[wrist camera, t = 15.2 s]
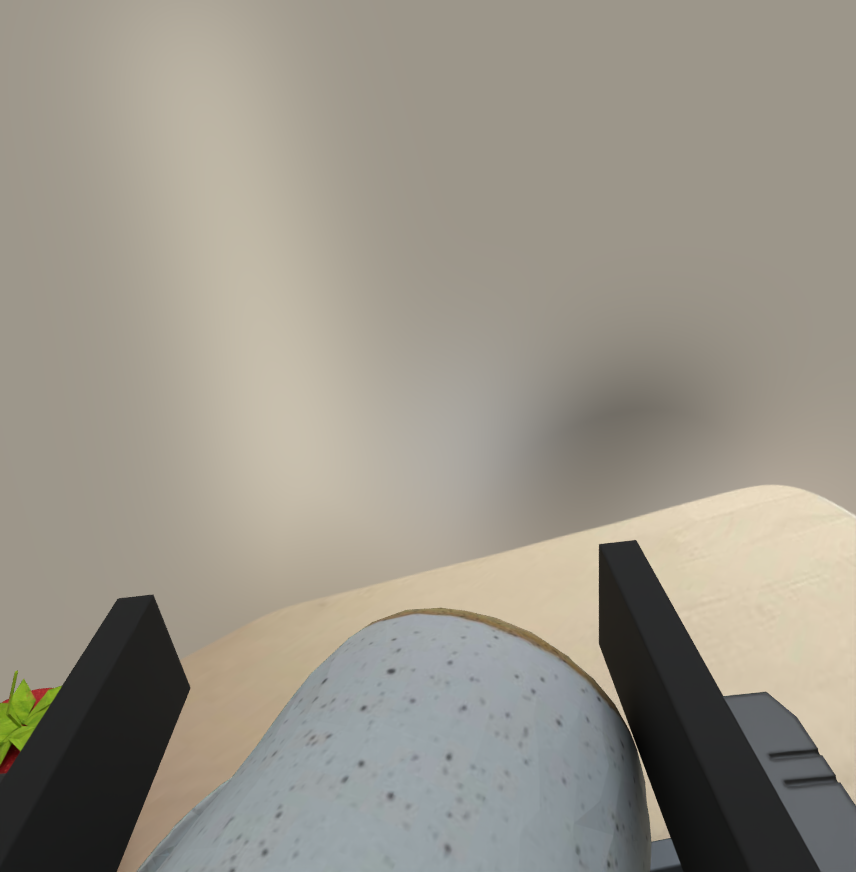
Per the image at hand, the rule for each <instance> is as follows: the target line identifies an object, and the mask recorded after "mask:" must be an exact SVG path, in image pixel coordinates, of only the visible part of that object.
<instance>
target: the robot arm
mask: <svg viewBox="0 0 856 872" xmlns="http://www.w3.org/2000/svg"><path fill="white" fill-rule="evenodd" d="M599 645H600V648H601V650H602V653H603V656H604V659H605V661H606V664H607V667H608V669H609V672H610V675H611V678H612V680H613V683H614V686H615V688H616V691H617V694H618V696H619V699H620V702H621V705H622V707H623V710H624V713H625V715H626V718H627V721H628V723H629V726H630V729H631V732H632V734H633V737H634V740H635V742H636V745H637V748H638V751H639V753H640V756H641V759H642V761H643V764H644V767H645V769H646V772H647V775H648V778H649V780H650V783H651V786H652V788H653V791H654V794H655V796H656V799H657V802H658V805H659V807H660V810H661V813H662V815H663V818H664V821H665V823H666V826H667V829H668V832H669V834H670V837H671V840H672V842H673V845H674V848H675V851H676V853H677V856H678V859H679V861H680V864H681V867H682V869H683V872H856V805H855V804H854V802H853V801H852V799H851V798H850V796H849V795H848V793H847V792H846V790H845V789H844V787H843V786H842V784H841V783H838V782H837V780H836V775H835V774H834V772H833V771H832V769H831V768H830V766H829V765H828V763H827V762H826V760H825V759H824V757H823V756H822V755H820V754H819V752H818V748H817V747H816V745H815V744H814V742H813V741H812V739H811V738H810V736H809V735H808V733H807V732H806V730H805V729H804V727H803V726H802V724H801V723H800V721H799V720H798V718H797V717H796V716H795V715H794V714H792V713H791V712H790V711H789V710H787V709H786V708H785V707H784V706H783V705H781V704H780V703H779V702H778V701H777V700H775V699H774V698H773V697H772V696H771V695H769V694H768V693H767V692H760V693H750V694H741V695H731V696H723V695H722V693H721V691H720V690H719V688H718V686H717V684H716V682H715V681H714V679H713V677H712V675H711V673H710V672H709V670H708V668H707V666H706V664H705V663H704V661H703V659H702V657H701V656H700V654H699V652H698V650H697V648H696V647H695V645H694V643H693V641H692V639H691V638H690V636H689V634H688V632H687V630H686V629H685V627H684V625H683V623H682V621H681V620H680V618H679V616H678V614H677V612H676V611H675V609H674V607H673V605H672V604H671V602H670V600H669V598H668V596H667V595H666V593H665V591H664V589H663V587H662V586H661V584H660V582H659V580H658V578H657V577H656V575H655V573H654V571H653V569H652V568H651V566H650V564H649V562H648V560H647V559H646V557H645V555H644V553H643V552H642V550H641V548H640V546H639V544H638V543H637V541H636V540H633V541H624V542H615V543H606V544H599ZM189 690H190V685H189V683H188V680H187V678H186V675H185V673H184V670H183V668H182V665H181V663H180V660H179V658H178V655H177V653H176V651H175V648H174V646H173V643H172V640H171V638H170V635H169V633H168V630H167V628H166V625H165V623H164V620H163V618H162V615H161V613H160V610H159V608H158V605H157V603H156V600H155V598H154V595H145V596H136V597H128V598H119V599H117V601H116V602H115V604H114V605H113V607H112V609H111V610H110V612H109V613H108V615H107V616H106V618H105V620H104V621H103V623H102V624H101V626H100V627H99V629H98V631H97V632H96V634H95V635H94V637H93V638H92V640H91V642H90V643H89V645H88V646H87V648H86V650H85V651H84V652H83V654H82V656H81V657H80V659H79V660H78V662H77V664H76V665H75V667H74V668H73V670H72V671H71V673H70V674H69V676H68V678H67V679H66V681H65V682H64V684H63V685H62V687H61V689H60V690H59V692H58V693H57V695H56V696H55V698H54V700H53V701H52V703H51V704H50V706H49V707H48V709H47V710H46V712H45V714H44V715H43V717H42V718H41V720H40V721H39V723H38V725H37V726H36V728H35V729H34V731H33V732H32V734H31V736H30V737H29V739H28V740H27V742H26V743H25V745H24V747H23V748H22V750H21V751H20V753H19V754H18V756H17V758H16V759H15V761H14V762H13V764H12V765H11V767H10V769H9V770H8V772H7V773H2V774H0V872H117V869H118V867H119V864H120V862H121V860H122V857H123V855H124V852H125V850H126V847H127V845H128V842H129V840H130V837H131V835H132V832H133V830H134V827H135V825H136V822H137V820H138V817H139V815H140V812H141V810H142V807H143V805H144V802H145V800H146V797H147V795H148V792H149V790H150V787H151V785H152V782H153V780H154V777H155V775H156V772H157V770H158V767H159V765H160V762H161V760H162V758H163V755H164V753H165V750H166V748H167V745H168V743H169V740H170V738H171V735H172V733H173V730H174V728H175V725H176V723H177V720H178V718H179V715H180V713H181V710H182V708H183V705H184V703H185V700H186V698H187V695H188V693H189Z"/></svg>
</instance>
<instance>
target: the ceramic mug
mask: <svg viewBox="0 0 856 872" xmlns="http://www.w3.org/2000/svg"><path fill="white" fill-rule="evenodd" d="M651 847H652V844H651V833H650V821H649V814H648V808H647V801H646V788H645V780H644V776H643V772H642V768H641V764H640V760H639V756H638V752H637V748H636V746H635V743H634V741H633V738H632V736H631V733H630V731H629V729H628V727H627V726H626V724H625V722H624V720H623V718H622V717H621V715H620V713H619V711H618V709H617V708H616V706H615V704H614V703H613V702H612V700H611V699H610V698H609V697H608V696H607V695H606V693H605V692H604V691H603V690H602V689H601V687H600V686H599V685H598V684H597V683H596V681H595V680H594V679H593V678H592V677H591V676H589V675H588V674H587V673H586V672H585V671H584V670H582V669H581V668H580V667H579V666H578V665H577V664H575V663H574V662H573V661H572V660H571V659H570V658H569V657H568V656H566V655H565V654H563V653H562V652H560V651H559V650H557V649H556V648H554V647H553V646H551V645H550V644H548V643H547V642H545V641H544V640H542V639H541V638H539V637H538V636H536V635H535V634H533V633H532V632H529V631H527V630H524V629H522V628H519V627H517V626H514V625H512V624H510V623H507V622H505V621H502V620H500V619H497V618H494V617H490V616H486V615H481V614H477V613H473V612H469V611H462V610H454V609H446V608H431V609H415V610H405V611H402V612H399V613H397V614H394V615H391V616H388V617H385V618H383V619H380V620H377V621H374V622H372V623H371V624H369V625H368V626H366V627H365V628H363V629H362V630H360V631H359V632H357V633H356V634H354V635H353V636H351V637H350V638H349V639H348V640H347V641H345V642H344V643H343V644H342V645H341V646H340V647H339V648H338V649H337V650H336V651H335V652H334V653H333V654H332V655H330V656H329V657H328V658H327V659H326V660H325V661H324V662H323V663H322V664H321V665H320V666H319V667H318V668H317V669H315V670H314V671H313V672H312V673H311V674H310V676H309V677H308V678H307V679H306V681H305V682H304V683H303V684H302V685H301V687H300V688H299V689H298V690H297V692H296V693H295V694H294V695H293V697H292V698H291V699H290V701H289V702H288V703H287V705H286V706H285V707H284V709H283V710H282V711H281V713H280V714H279V715H278V717H277V718H276V720H275V721H274V722H273V724H272V725H271V727H270V728H269V729H268V731H267V732H266V734H265V735H264V736H263V738H262V739H261V741H260V742H259V743H258V745H257V746H256V747H255V749H254V750H253V751H252V752H251V754H250V755H249V756H248V758H247V759H246V760H245V761H244V763H243V764H242V765H241V766H240V768H239V769H238V770H237V772H236V773H235V774H234V775H233V777H232V778H230V779H229V780H227V781H226V782H224V783H223V784H222V785H220V786H219V787H218V788H217V789H215V790H214V791H213V792H212V793H210V794H209V795H208V796H207V797H205V798H204V799H203V800H202V801H201V802H200V803H199V804H197V805H196V806H195V807H194V808H193V809H192V810H191V811H190V812H189V813H188V814H187V815H186V816H184V817H183V818H182V819H181V820H180V821H179V822H178V823H177V824H176V825H175V826H174V828H173V829H172V830H171V832H170V833H169V834H168V835H167V836H166V837H165V838H164V839H163V840H162V841H161V842H160V843H159V844H158V846H157V847H156V848H155V849H154V850H153V852H152V853H151V854H150V855H149V857H148V858H147V859H146V860H145V861H144V863H143V864H142V865H141V866H140V867H139V869H138V870H137V872H650V865H651Z"/></svg>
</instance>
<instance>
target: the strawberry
mask: <svg viewBox="0 0 856 872" xmlns="http://www.w3.org/2000/svg"><path fill="white" fill-rule="evenodd" d="M17 674H18V671H16V672H15V674H14V678H13V683H12V688H11V692H10V697H9V699H8V700H5V701H3V702H2V703H0V774H2V773H7V772H8V770H9V769H10V767H11V765H12V764H13V762H14V761H15V759H16V758H17V756H18V754H19V753H20V751H21V750H22V748H23V747H24V745H25V743H26V742H27V740H28V739H29V737H30V736H31V734H32V732H33V731H34V729H35V728H36V726H37V725H38V723H39V721H40V720H41V718H42V717H43V715H44V714H45V712H46V710H47V709H48V707H49V706H50V704H51V703H52V701H53V700H54V698H55V696H56V695H57V693H58V692H59V690H60V689H61V687H62V686H59V687H56V688H43V689H37V690H32V691H31V690H30V688H29V687H28V685H27V683H26V682H25V680H24V679H23V681H22V682H21V684H20V685H19V687H18V688H17V690H16V691H15V693H14V688H15V683H16V678H17ZM13 693H14V694H13Z"/></svg>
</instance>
